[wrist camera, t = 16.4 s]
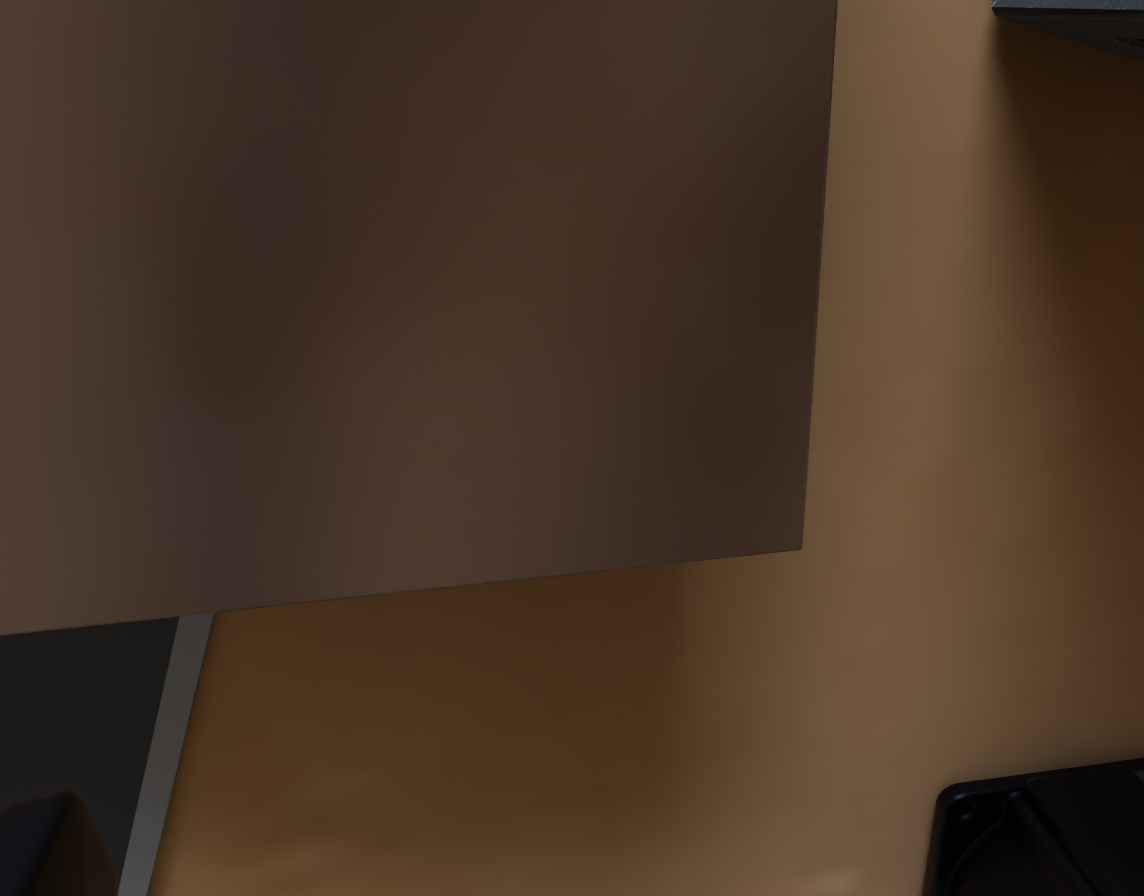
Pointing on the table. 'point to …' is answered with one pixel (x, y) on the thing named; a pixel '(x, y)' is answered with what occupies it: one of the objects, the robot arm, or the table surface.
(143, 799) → the smartphone
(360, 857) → the table surface
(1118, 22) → the ammunition clip
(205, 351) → the cabinet
